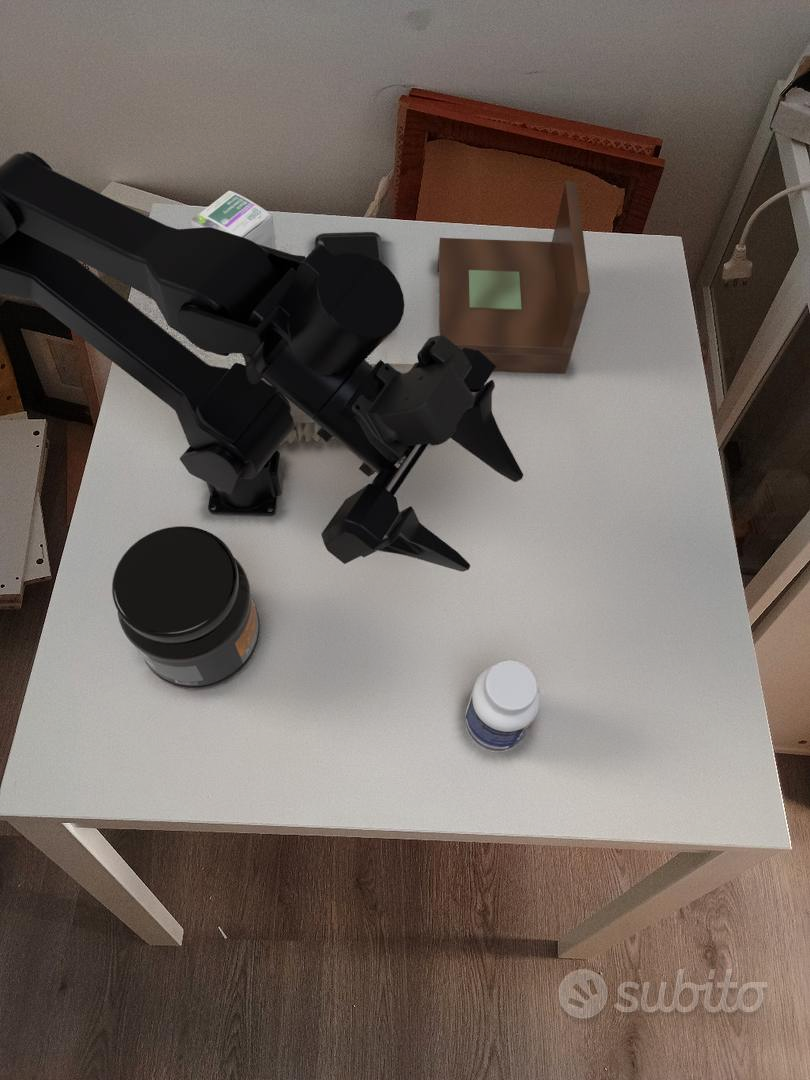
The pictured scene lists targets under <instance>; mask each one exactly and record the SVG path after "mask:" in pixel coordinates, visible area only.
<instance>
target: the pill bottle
mask: <svg viewBox="0 0 810 1080" xmlns="http://www.w3.org/2000/svg"><path fill="white" fill-rule="evenodd" d="M540 706H541V693H540V689H539V685H538V680H537V677H536V675H535V673H534V672H533V670H532V669H531V668H530V667H529V666H527V665H526V664H525V663H523V662H521V661H517V660H512V659H507V660H501V661H500V662H497V663H496V664H494V665H492V666H490V667H488V668H486V669H485V670H483V672H482V673H481V674H480V675H479V676H478V677H477V679H476V681H475V682H474V685H473V686H472V691H471V694H470V698H469V702H468V704H467V707H466V710H465V715H464V724H465V730H466V732H467V734H468V736H469V738H470V740H472V742H473V743H474V744H475V745H476V746H477V747H479V748H481V749H482V750H485V751H488V752H491V753H503V752H507V751H510V750H513V749H514V748H516V747H517V746H518V745H519V744H520V743H521V742H522V741H523V740H524V738H525V737H526V735H527V732H528V731H529V730H530V727H532V724H533V722H534V721H535V719H536V717H537V715H538V713H539V711H540Z"/></svg>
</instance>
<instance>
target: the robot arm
mask: <svg viewBox="0 0 810 1080" xmlns="http://www.w3.org/2000/svg"><path fill="white" fill-rule="evenodd" d="M85 265H87V266H88V267H90V268H93V269H94V270H97V271H98V272H100V273H102V274H105V275H106V276H108V277H110V278H113V279H114V280H115V281H118V282H120V283H122V284H124V285H126V286H127V287H130V288H132V289H134V290H136V291H138V292H140V293H141V294H143V295H145V296H146V297H148V298H150V299H151V300H153V301H154V302H155V304H156V305H157V308H158V310H159V311H160V313H161V314H162V316H163V318H164V320H165V322H166V325H168V326H169V327H170V328H171V329H172V330H173V331H176V332H177V333H179V334H180V335H182V336H183V337H185V338H186V339H187V340H188V341H189V342H190V343H191V344H192V345H193V346H195V347H197V349H199V350H202V351H204V352H208V353H212V354H215V355H218V356H223V357H228V356H229V355H230V354H239V355H240V354H241V355H242V358H243V359H244V363H245V364H242V363H240V362H234V363H233V364H232V366H230V368H228V367H221V366H217V365H215V366H214V365H211V364H208V363H207V362H205V361H204V360H203V359H201V357H200V356H198V355H197V354H195V353H194V352H193V351H191V350H190V349H189V348H188V347H187V346H185V344H183V343H182V342H181V341H180V340H178V339H177V338H175V337H174V336H173V335H172V334H171V333H169V332H168V331H166V330H165V329H164V328H163V327H162V326H160V325H159V324H158V323H157V322H156V321H154V320H153V319H151V318H150V317H149V316H148V315H146V314H145V313H144V312H143V311H142V310H141V309H139V308H138V307H137V306H135V305H134V304H133V303H131V302H130V301H129V300H128V299H126V298H125V297H124V296H123V295H122V294H120V293H119V292H118V291H116V289H114V288H113V287H111V286H110V285H109V284H108V283H106V282H105V281H104V280H103V279H102V278H101V277H99V276H98V275H97V274H96V273H94V272H93V271H92V270H90V269H89V268H87V266H85ZM0 295H5V296H6V295H7V296H12V297H17V298H23V299H29V300H32V301H34V302H35V303H36V304H38V305H39V306H40V307H41V308H43V309H44V310H46V311H47V312H48V313H49V314H51V316H53V317H55V318H56V319H57V320H58V321H59V322H60V323H62V324H63V325H65V326H66V327H68V328H69V329H70V330H71V331H72V332H74V333H75V334H76V335H78V336H79V337H80V338H81V339H83V340H84V341H85V342H86V343H88V344H89V345H91V346H92V347H93V348H94V349H96V351H98V352H99V353H101V354H102V355H103V356H105V357H106V358H107V359H108V360H110V361H111V363H113V364H114V365H116V366H117V367H119V369H121V370H123V372H125V373H126V374H127V375H129V376H130V377H131V378H133V379H134V380H136V381H137V382H138V383H139V384H141V385H142V386H143V387H144V388H146V389H147V390H148V391H149V392H151V393H152V394H153V395H154V396H156V397H157V398H158V399H160V400H161V401H162V402H164V403H165V404H166V405H167V406H169V407H170V408H171V409H172V410H173V411H174V412H175V413H176V416H177V418H178V421H179V423H180V426H181V429H182V431H183V434H184V436H185V438H186V441H187V443H188V445H189V446H188V448H187V449H186V450H185V451H184V452H183V453H182V455H181V456H179V461H180V462H181V463H182V465H183V466H184V468H185V469H186V470H187V472H188V473H189V474H190V475H192V476H194V477H196V478H198V479H199V480H201V481H204V482H205V483H206V485H207V487H208V488H207V489H208V491H209V494H210V495H209V499H208V505H207V510H208V512H209V514H211V515H223V516H224V515H225V516H226V515H227V516H255V517H257V516H259V517H272V516H275V514H276V513H277V506H278V505H277V504H278V498H279V497H281V496H282V495H283V487H284V486H283V485H284V475H285V474H284V468H283V462H282V456H281V452H280V451H279V450H278V449H279V448H280V446H281V445H282V444H281V443H282V442H283V441H284V440H285V438H286V437H287V436H288V435H289V433H290V432H291V431H292V429H293V427H294V421H293V418H292V416H291V414H290V411H291V406H290V404H289V402H288V400H287V399H286V398H288V399H289V400H290V401H291V402H292V403H294V404H295V405H296V406H297V407H298V408H300V409H301V410H302V411H303V412H304V413H306V414H307V415H308V416H309V417H310V418H312V419H313V420H314V421H315V422H316V423H317V424H319V425H320V426H321V428H320V429H319V431H318V432H317V433H316V434H317V435H318V436H320V437H321V438H320V439H322V440H323V441H324V442H326V443H328V442H329V441H330V440H331V438H332V437H334V438H335V439H334V440H336V441H337V442H339V444H341V446H344V447H345V448H346V449H347V450H348V451H349V452H350V453H352V454H353V455H354V456H356V457H357V458H358V459H359V460H360V461H362V463H361V465H360V466H359V467H358V470H359V471H360V472H362V473H363V474H364V475H365V476H366V477H368V478H369V477H371V476H373V475H374V474H376V475H375V477H374V478H373V480H372V481H371V483H368V484H366V485H365V486H363V487H362V488H360V489H359V490H357V491H356V492H355V493H353V494H351V495H350V496H348V497H347V498H345V499H344V501H343V502H342V504H341V505H340V506H339V508H338V510H337V511H336V512H335V513H334V514H333V517H332V518H331V519H330V521H329V522H328V524H327V525H326V526H325V528H324V529H323V531H322V532H321V533H320V535H321V538H322V543H323V544H324V547H325V548H326V550H327V551H328V553H330V554H331V555H332V556H333V557H335V558H336V559H337V560H338V561H340V562H341V563H343V564H344V565H346V564H348V563H350V562H352V561H354V560H356V559H358V558H360V557H362V558H366V557H367V556H370V555H372V554H374V553H375V552H377V551H378V552H385V553H389V554H395V555H401V556H405V557H406V556H407V557H409V558H414V559H417V560H420V561H423V562H427V563H431V564H433V565H438V566H442V567H444V568H447V569H451V570H455V571H458V572H461V573H462V572H467V571H468V570H470V568H471V564H470V563H469V562H468V560H466V558H465V557H464V556H463V555H461V554H460V553H459V551H457V550H456V549H454V548H453V547H452V546H450V544H448V543H447V542H445V541H444V540H443V539H442V538H440V537H439V536H438V535H436V534H435V533H434V532H432V531H431V530H430V529H428V528H427V527H426V526H425V525H424V524H422V523H421V522H420V520H419V518H418V516H417V514H416V512H415V509H414V507H413V506H412V505H410V506H408V507H406V508H405V509H402V510H401V511H400V508H399V503H398V498H397V497H396V496H395V495H396V493H397V492H398V490H399V489H400V487H401V486H402V484H403V483H404V481H405V480H406V478H407V477H408V476H409V474H410V472H411V471H412V470H413V468H414V466H415V465H416V463H417V462H418V461H419V459H420V458H421V456H422V455H423V453H424V452H425V450H426V448H427V447H428V445H430V446H438V445H439V446H440V445H442V444H444V443H446V442H447V441H449V440H450V439H451V440H452V441H453V442H455V443H456V444H458V445H459V446H461V447H462V448H464V449H465V450H466V451H467V452H469V453H470V454H471V455H473V456H474V457H476V458H477V459H478V460H480V461H481V462H483V463H484V464H486V465H487V466H488V467H490V468H491V469H492V470H494V471H495V472H497V474H500V475H501V476H503V477H504V478H506V479H509V480H510V481H511V482H514V483H517V482H520V481H521V480H522V479H523V477H524V472H523V471H522V469H521V467H520V466H519V464H518V462H517V460H516V458H515V456H514V455H513V452H512V451H511V449H510V447H509V445H508V443H507V441H506V440H505V438H504V435H503V434H502V432H501V430H500V428H499V426H498V423H497V421H496V419H495V416H494V413H493V405H492V404H493V391H494V389H495V388H496V385H495V381H494V379H490V380H489V378H490V377H491V375H492V374H493V372H495V371H494V369H495V368H496V365H495V364H494V363H493V362H492V361H491V360H490V359H489V358H488V357H487V356H485V355H484V354H483V353H482V352H481V351H479V350H474V349H469V348H463V349H460V348H459V347H457V346H456V345H455V344H454V343H452V342H451V341H450V340H448V339H447V338H446V337H444V336H443V335H439V334H438V335H435V336H432V337H429V338H428V339H427V340H426V342H425V343H424V344H423V346H422V347H421V349H420V350H419V351H418V353H417V356H416V358H417V362H415V363H413V364H414V366H413V367H412V368H411V370H410V371H409V372H407V373H404V374H403V373H401V372H399V371H397V370H395V369H394V368H393V367H392V366H391V365H390V364H391V363H387V362H384V361H383V360H382V359H380V360H378V361H377V362H376V363H375V364H376V365H375V366H374V367H372V366H371V365H370V364H371V363H369V362H368V361H367V360H366V359H368V357H369V356H370V355H371V354H372V353H373V352H374V351H375V350H377V348H378V347H379V346H380V345H381V344H382V343H384V341H385V340H386V339H387V338H388V337H389V336H390V335H391V334H392V333H394V331H395V330H396V329H397V327H399V325H400V324H401V321H402V318H403V316H404V312H405V311H404V310H405V298H404V293H403V290H402V287H401V285H400V282H399V281H398V279H397V277H396V276H395V273H393V272H392V270H391V269H390V268H389V267H388V266H387V265H386V264H385V263H384V262H383V263H382V262H381V261H379V260H374V259H372V258H370V257H368V256H365V255H361V254H358V253H343V254H338V255H335V256H334V255H333V254H332V253H331V252H330V251H329V250H328V249H327V248H325V247H324V246H323V245H322V244H318V245H317V246H316V247H315V246H314V248H313V249H312V250H311V251H310V252H309V253H308V255H307V256H305V255H298V254H292V253H288V252H286V251H282V250H279V249H277V248H276V249H272V248H269V247H266V246H262V245H259V244H256V243H255V242H253V241H251V240H248V239H246V238H243V237H240V236H237V235H234V234H231V233H228V232H224V231H221V230H218V229H215V228H212V227H203V228H192V227H191V228H175V227H172V226H168V225H167V224H164V223H162V222H161V221H158V220H156V219H154V218H151V217H149V216H148V215H145V214H144V213H141V212H139V211H138V210H135V209H134V208H132V207H129V206H127V205H126V204H123V203H121V202H119V201H117V200H115V199H113V198H110V197H108V196H107V195H104V194H102V193H100V192H98V191H96V190H94V189H92V188H90V187H88V186H86V185H84V184H82V183H80V182H78V181H76V180H73V179H72V178H69V177H67V176H65V175H63V174H62V173H59V172H57V171H56V170H53V168H52V167H51V165H50V164H48V163H47V162H46V160H44V158H42V157H40V156H39V155H38V154H36V153H34V152H31V151H28V150H27V151H23V152H22V153H14V154H13V155H12V156H10V157H9V158H7V159H6V160H5V161H3V163H1V164H0ZM261 378H264V379H265V380H266V381H267V382H268V383H270V384H271V385H272V386H271V385H269V384H267V383H266V382H264V381H263V380H262V379H261ZM488 380H489V381H488ZM487 381H488V382H487ZM277 390H278V391H277ZM281 393H282V394H283V395H284V396H285V397H286V398H285V397H284V396H283V395H282V394H281ZM213 508H214V509H213ZM270 510H271V511H270Z"/></svg>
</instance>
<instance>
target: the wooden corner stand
mask: <svg viewBox="0 0 810 1080" xmlns="http://www.w3.org/2000/svg"><path fill="white" fill-rule="evenodd" d="M438 241H439V244H438V253H437V255H438V256H437V273H438V336H439V335H443V336H444V337H446V338H447V339H448V340H450V341H451V342H452V343H454V344H455V345H456V346H457V347H459V348H460V349H463V348H469V349H474V350H479V351H481V352H482V353H483V354H484V355H485V356H487V357H488V358H489V359H490V360H491V361H492V362H493V363H494V364H495V365H496V368H495V369H494V371H493V372H502V373H503V372H507V373H532V374H533V373H534V374H535V373H536V374H537V373H538V374H562V375H563V374H564V375H565V374H566V373H567V371H568V368H569V364H570V361H571V358H572V355H573V351H574V347H575V345H576V340H577V337H578V334H579V331H580V328H581V324H582V320H583V319H584V318H583V317H584V314H585V311H586V307H587V304H588V301H589V297H590V295H591V285H590V276H589V270H588V259H587V253H586V246H585V237H584V229H583V221H582V214H581V205H580V197H579V188H578V182H577V181H568V180H567V181H565V182H564V187H563V190H562V196H561V200H560V204H559V209H558V213H557V218H556V221H555V226H554V229H553V235H552V239H551V241H542V240H541V241H540V240H539V241H538V240H535V241H534V240H514V239H513V240H511V239H509V240H508V239H486V238H485V239H482V238H481V239H480V238H458V237H457V238H456V237H439V240H438Z"/></svg>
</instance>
